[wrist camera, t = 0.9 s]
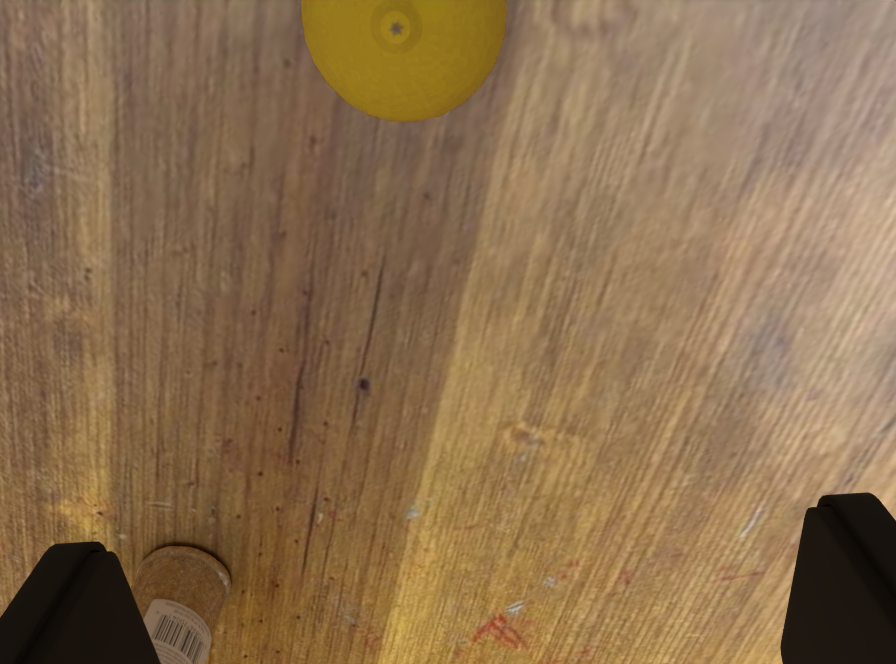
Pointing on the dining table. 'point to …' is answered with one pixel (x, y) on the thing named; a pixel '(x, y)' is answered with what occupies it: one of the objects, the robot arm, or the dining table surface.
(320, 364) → the dining table surface
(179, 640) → the sprinkles bottle
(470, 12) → the lemon
